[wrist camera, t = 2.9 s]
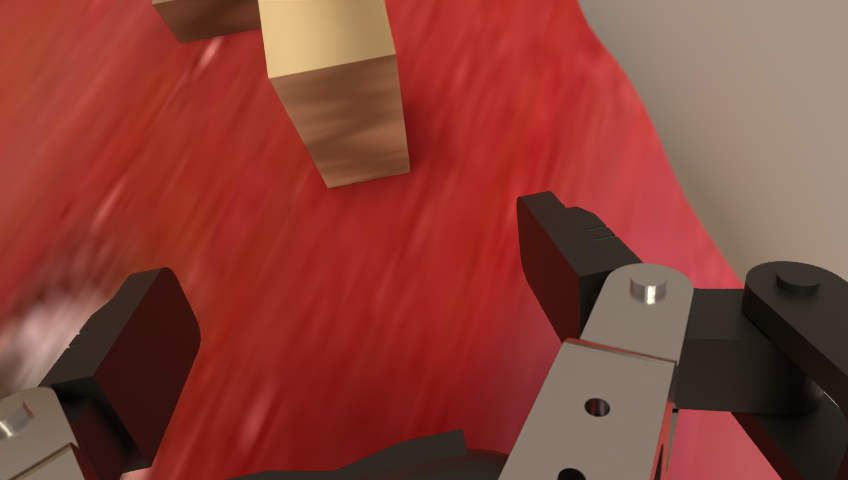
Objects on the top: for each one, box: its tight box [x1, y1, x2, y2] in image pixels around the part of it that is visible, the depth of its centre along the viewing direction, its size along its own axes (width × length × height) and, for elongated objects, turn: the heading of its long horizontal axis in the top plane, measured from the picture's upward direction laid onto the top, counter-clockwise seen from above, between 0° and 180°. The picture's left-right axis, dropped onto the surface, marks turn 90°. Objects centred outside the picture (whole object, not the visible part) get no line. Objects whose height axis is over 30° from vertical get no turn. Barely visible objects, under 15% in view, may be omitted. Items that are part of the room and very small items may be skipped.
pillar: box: [258, 0, 411, 188], centre depth 23 cm, size 4×4×10 cm
